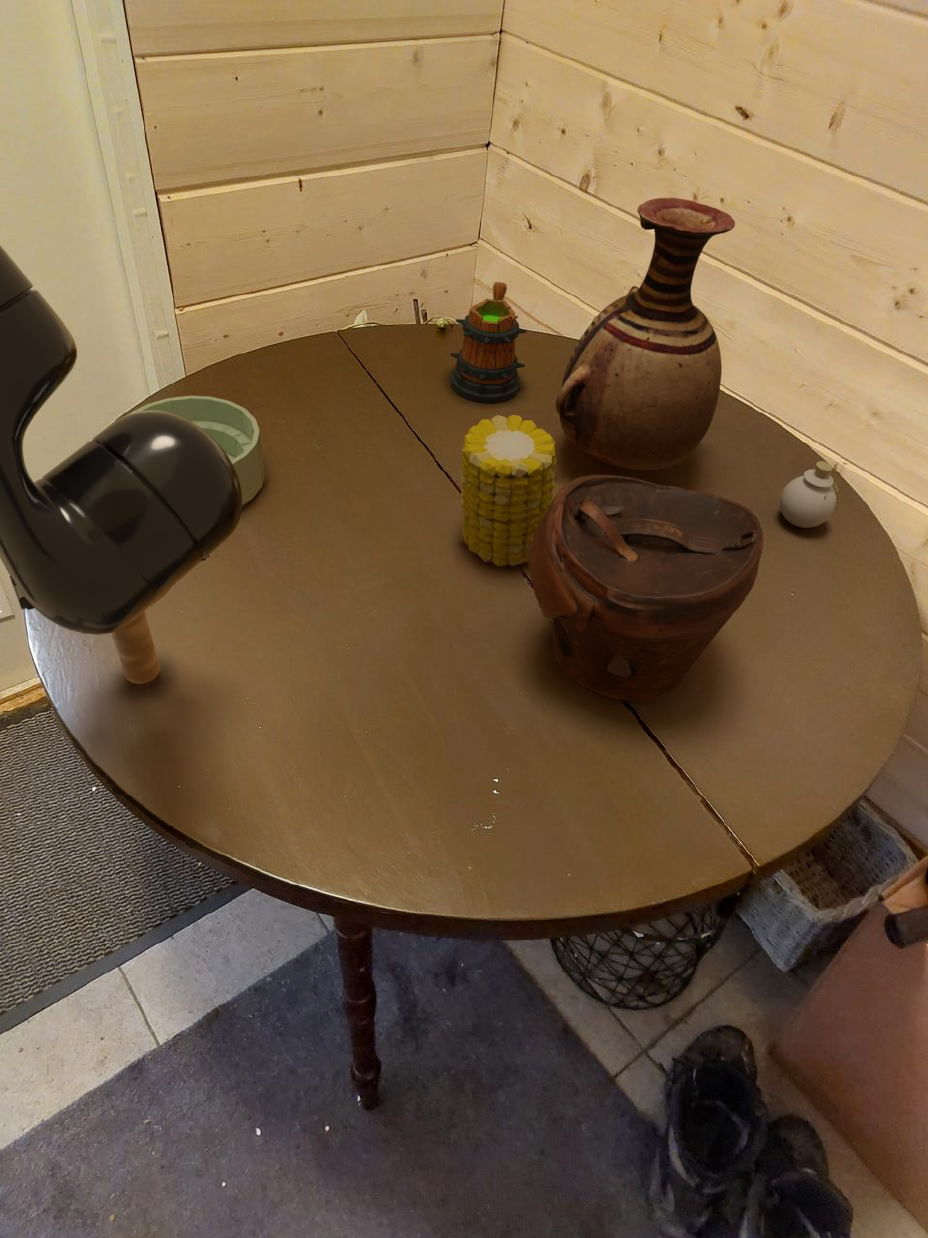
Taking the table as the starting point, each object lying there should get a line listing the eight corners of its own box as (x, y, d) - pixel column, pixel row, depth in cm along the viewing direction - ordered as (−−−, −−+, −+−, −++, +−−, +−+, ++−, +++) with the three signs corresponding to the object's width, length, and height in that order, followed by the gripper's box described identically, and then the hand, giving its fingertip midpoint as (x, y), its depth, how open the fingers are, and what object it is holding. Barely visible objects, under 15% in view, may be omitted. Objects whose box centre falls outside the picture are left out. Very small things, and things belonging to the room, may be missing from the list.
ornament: (814, 506, 100) (848, 437, 93) (834, 547, 95) (872, 477, 88) (766, 504, 100) (796, 434, 93) (784, 545, 95) (817, 474, 88)
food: (557, 558, 93) (485, 593, 88) (498, 484, 97) (426, 515, 93) (599, 467, 80) (517, 504, 76) (528, 387, 84) (447, 418, 80)
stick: (126, 687, 72) (87, 569, 62) (123, 662, 74) (85, 544, 64) (161, 679, 73) (129, 563, 63) (158, 655, 75) (126, 538, 65)
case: (488, 606, 84) (508, 460, 71) (662, 575, 90) (710, 435, 77) (553, 746, 73) (592, 603, 60) (748, 702, 78) (822, 562, 65)
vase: (550, 505, 97) (601, 244, 75) (528, 418, 109) (566, 173, 87) (725, 505, 99) (822, 254, 78) (683, 421, 112) (757, 183, 90)
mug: (517, 409, 110) (528, 328, 102) (442, 397, 111) (447, 315, 103) (527, 362, 119) (539, 283, 111) (458, 351, 120) (464, 272, 112)
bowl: (132, 534, 88) (118, 485, 83) (121, 452, 97) (108, 404, 93) (276, 512, 92) (270, 463, 87) (252, 436, 102) (246, 388, 97)
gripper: (207, 471, 54) (182, 509, 70) (-27, 527, 49) (3, 555, 65) (243, 580, 55) (210, 593, 71) (17, 647, 50) (36, 646, 65)
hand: (111, 575), depth 68 cm, fingers closed on stick, 3 cm apart
